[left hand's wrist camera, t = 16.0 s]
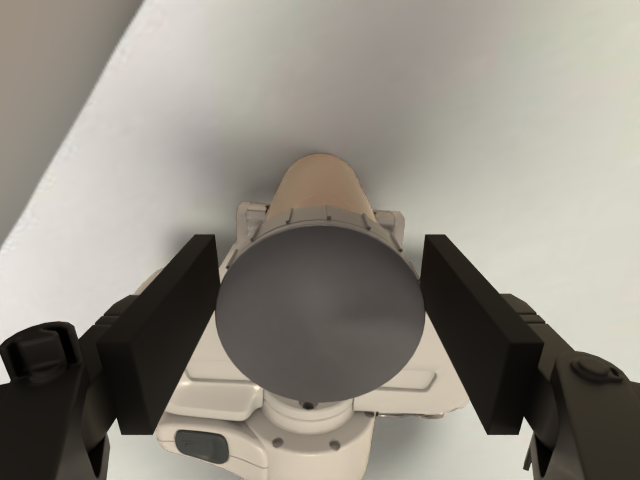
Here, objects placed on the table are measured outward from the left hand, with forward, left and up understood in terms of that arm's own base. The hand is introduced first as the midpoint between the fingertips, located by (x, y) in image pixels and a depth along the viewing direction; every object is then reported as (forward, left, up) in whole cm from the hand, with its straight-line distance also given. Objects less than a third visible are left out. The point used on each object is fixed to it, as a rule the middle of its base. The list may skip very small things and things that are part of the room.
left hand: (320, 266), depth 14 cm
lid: (0, 0, +4) cm, 4 cm away
